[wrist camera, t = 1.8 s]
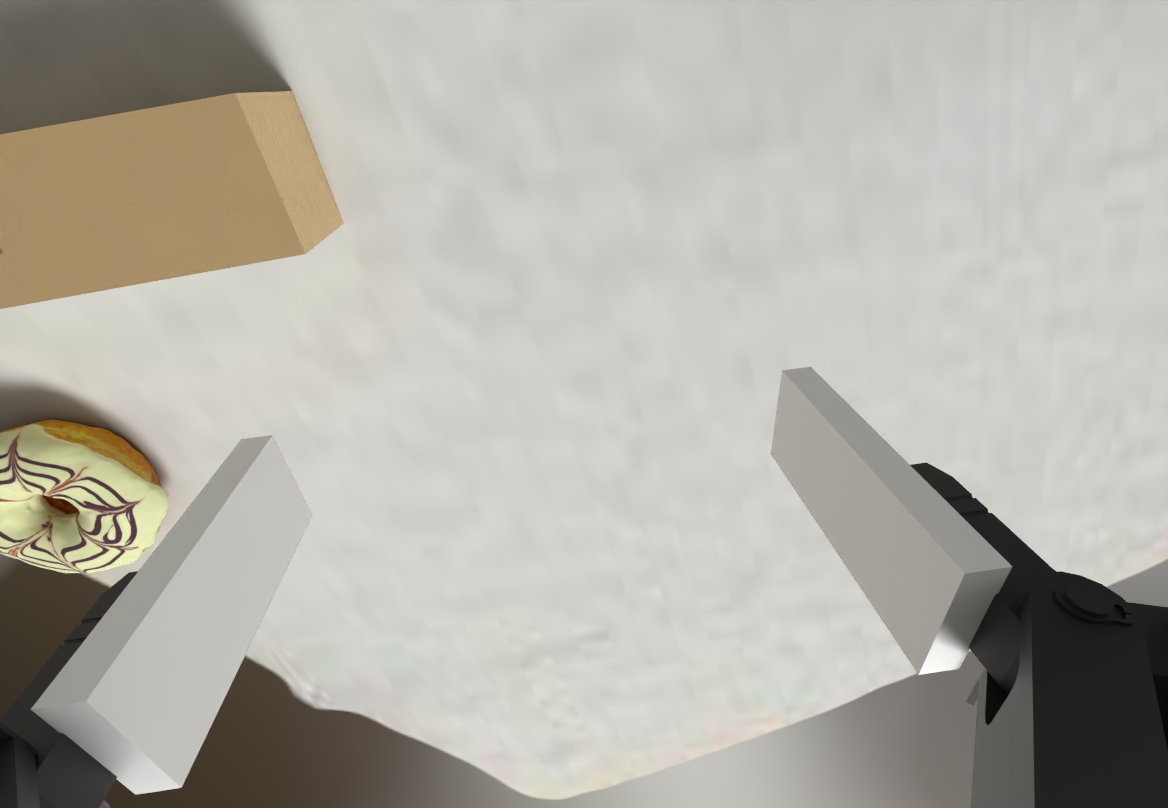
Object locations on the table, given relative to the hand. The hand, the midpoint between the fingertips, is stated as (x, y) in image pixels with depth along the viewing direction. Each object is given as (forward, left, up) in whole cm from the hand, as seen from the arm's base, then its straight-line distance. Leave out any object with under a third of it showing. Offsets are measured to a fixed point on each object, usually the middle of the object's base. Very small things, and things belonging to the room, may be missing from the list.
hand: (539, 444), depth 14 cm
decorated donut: (+13, -30, -18) cm, 37 cm away
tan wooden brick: (-4, -20, -18) cm, 27 cm away
